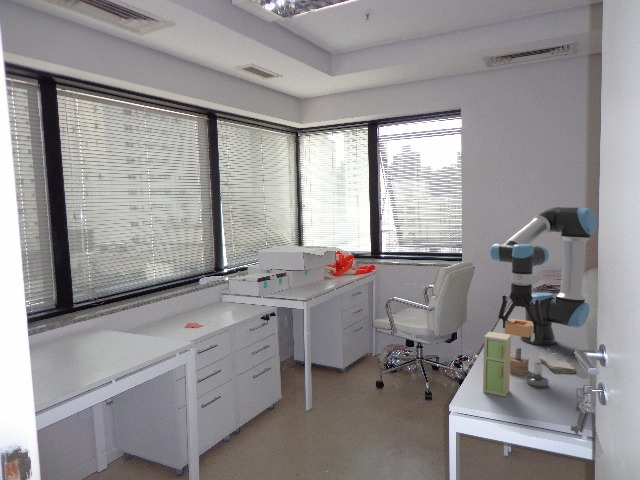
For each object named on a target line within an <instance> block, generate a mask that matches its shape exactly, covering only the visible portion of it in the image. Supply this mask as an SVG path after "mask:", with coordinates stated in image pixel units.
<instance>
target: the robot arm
mask: <svg viewBox="0 0 640 480" xmlns="http://www.w3.org/2000/svg"><path fill="white" fill-rule="evenodd" d="M597 226H598V222H597V216H596V214H595V212H594V210H592V208H588V207H567V206H566V207H560V206H556V207H551V208H547V209H545V210H543V211H540V212H538V213H537V214H536V215H534V216H533V217H531V218H530V220H529V223H527V224H526V225H525V226H524V227H522V228H521V229H520V230H519V231H517V232H515V233H514V234H513V235H512V236H510V238H509V239H507V240H506V241H505V242H503V243H500V242H499V243H494V244H492V246H491V247H490V251H489V252H490V253H489V254H490V258H491V259H492V260H493V261H495V262H503V263H510V264H511V284H510V294H506V293H505V294H503V295H502V301H501V302H502V303H501V306H500V310H499V312H498V319H500V320H502V328H503V329H505V323H506V322H508V321H509V320H510V319H509V317H510V316H511V314H512V313H513V310H514V309H515V307H521V308H524V309H525V319H524V320H526V321H532V323H533V324H532V325H531V336H530V337H529V338H528V337H523V336H520V340H521V341H523V342H525V343H528V344H532V345H536V346H552V345H554V344H555V343H556V336H555V333H554V330H553V325H552V324H559V325H563V326H567V327H569V328H571V327H572V328H581V327H583V326H584V325H585V323H586V322H587V320H588V318H589V316H590V315H589V314H590V305H589V304H588V303H587V302H586V297H584V295H583V294H582V293H583V290H582V289H583V279H584V267H585V257H586V244H587V242H588V241H589V240H590V239H591V236H592V235H594V234H595V233H596V231H597ZM549 233H561V235H560V237H561V238H562V239H563V241H564V242H563V254H562V264H561V265H562V267H561V277H560V291H559V293H557V294H556V296H555V297H554V294H553V293H551V292H533V285H532V283H533V269H534V267H536V266H541V265H543V264H545V263H547V261H548V260H549V258H550V254H549V251H548V250H547V248H545V247H543V246H538V245H537V246H533V245H532V243H533V242H535V241H536V240H537V239H538V238H540V237H541V236H543V235H547V234H549ZM509 300H510V301H511V302H512V303H511V304H510V306H509V308H508V310H507V311H506V307H507V304H508V301H509ZM505 312H506V313H505ZM504 334H506V333H505V332H504Z"/></svg>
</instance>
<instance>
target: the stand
mask: <svg viewBox="0 0 640 480" xmlns="http://www.w3.org/2000/svg"><path fill="white" fill-rule="evenodd" d="M529 361H530V360H529V357H523V356H522V348H521V347H519V346H518V347H515V355H512V354H511V355H510V374H515V375H520V376H525V375H526V374H527V373H528V371H529Z"/></svg>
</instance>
